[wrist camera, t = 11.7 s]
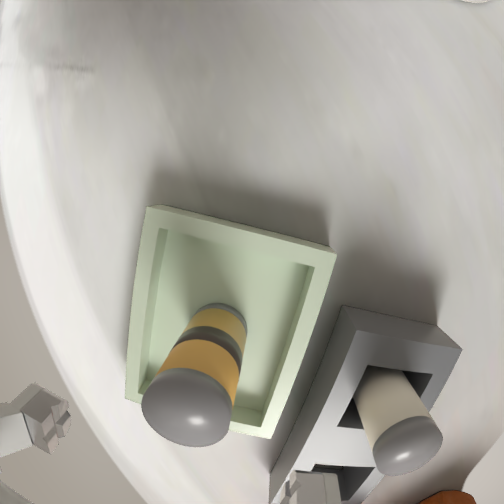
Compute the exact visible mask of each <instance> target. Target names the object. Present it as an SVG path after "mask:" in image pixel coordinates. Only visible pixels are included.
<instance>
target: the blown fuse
mask: <svg viewBox="0 0 504 504" xmlns="http://www.w3.org/2000/svg"><path fill="white" fill-rule="evenodd" d="M247 333H248V329H247V324H246V321H245V319H244V317H243V316H242V315H241V313H240V312H239V311H238V310H236V309H235V308H233V307H232V306H229V305H227V304H223V303H210V304H207V305H204V306H202V307H201V308H199V309H198V310H197V311H196V312H195V314H194V315H193V317H192V319H191V320H190V322H189V323H188V325H187V326H186V328H185V330H184V331H183V333H182V334H181V336H180V337H179V338H178V340H177V342H176V343H175V345H174V346H173V348H172V349H171V351H170V353H169V354H168V356H167V358H166V360H165V361H164V363H163V364H162V366H161V368H160V369H159V371H158V372H157V374H156V376H155V377H154V379H153V380H152V382H151V384H150V385H149V387H148V388H147V390H146V392H145V393H144V395H143V397H142V402H141V407H142V412H143V415H144V417H145V419H146V421H147V422H148V424H149V425H150V426H151V427H152V428H153V429H154V430H155V431H156V432H157V433H158V434H159V435H161V436H162V437H164V438H166V439H167V440H169V441H172V442H174V443H177V444H180V445H183V446H189V447H204V446H209V445H212V444H215V443H217V442H219V441H220V440H221V439H223V438H224V436H225V435H226V434H227V432H228V430H229V425H230V420H231V415H232V410H233V405H234V400H235V395H236V390H237V385H238V382H239V377H240V372H241V366H242V359H243V354H244V349H245V344H246V339H247Z"/></svg>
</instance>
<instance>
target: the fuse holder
mask: <svg viewBox="0 0 504 504" xmlns="http://www.w3.org/2000/svg"><path fill="white" fill-rule="evenodd" d="M461 351H462V348H461V347H460V346H458V345H457V344H456V343H455V342H454V341H453V340H452V339H451V338H450V337H449V336H448V335H447V334H446V333H445V332H443V331H442V330H441V329H440V328H439V327H438V326H436V325H431V324H426V323H422V322H417V321H412V320H408V319H403V318H398V317H394V316H389V315H385V314H380V313H376V312H371V311H367V310H362V309H358V308H354V307H349V306H345V305H342V307H341V310H340V313H339V316H338V319H337V322H336V324H335V327H334V330H333V333H332V335H331V338H330V341H329V343H328V346H327V349H326V351H325V354H324V356H323V359H322V361H321V364H320V367H319V369H318V371H317V374H316V376H315V379H314V381H313V384H312V386H311V388H310V391H309V393H308V395H307V398H306V400H305V402H304V405H303V407H302V409H301V411H300V414H299V416H298V418H297V420H296V423H295V425H294V427H293V429H292V431H291V433H290V435H289V438H288V440H287V442H286V444H285V446H284V448H283V450H282V452H281V454H280V456H279V458H278V460H277V462H276V464H275V466H274V468H273V470H272V472H271V474H270V485H269V504H280V494H281V491H282V488H283V485H284V484H285V482H286V481H289V480H290V474H291V472H292V471H293V470H301V471H312V472H321V473H334V474H336V475H337V478H338V484H339V491H340V497H341V504H361V503H362V502H363V501H364V500H365V499H366V497H367V496H368V495H369V494H370V493H371V492H372V491H373V489H374V488H375V487H376V486H377V485H378V483H379V482H380V481H381V480H382V478H383V477H384V476H385V475H384V474H382V473H380V472H379V471H378V469H377V466H376V463H375V460H374V457H373V454H372V451H371V448H370V445H369V442H368V439H367V436H366V433H365V430H364V427H363V424H362V421H361V418H360V415H359V413H358V410H357V407H356V404H355V401H354V398H353V394H354V392H355V390H356V388H357V386H358V384H359V382H360V380H361V378H362V376H363V374H364V371H365V369H366V367H367V365H371V366H378V367H384V368H391V369H398V370H402V372H403V373H404V375H405V376H406V378H407V379H408V381H409V382H410V384H411V386H412V387H413V389H414V390H415V392H416V393H417V395H418V396H419V398H420V400H421V401H422V403H423V404H424V406H425V407H426V409H427V411H428V412H429V411H430V410H431V408H432V406H433V405H434V403H435V401H436V399H437V398H438V396H439V394H440V392H441V391H442V389H443V387H444V385H445V383H446V381H447V380H448V378H449V376H450V374H451V372H452V370H453V368H454V366H455V364H456V362H457V360H458V358H459V356H460V354H461ZM315 464H324V465H336V466H345V467H344V468H343V470H336V469H323V468H313V467H314V465H315Z"/></svg>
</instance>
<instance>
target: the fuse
mask: <svg viewBox="0 0 504 504" xmlns="http://www.w3.org/2000/svg"><path fill="white" fill-rule="evenodd" d="M353 398H354V401H355V404H356V407H357V410H358V413H359V415H360V418H361V421H362V424H363V427H364V430H365V433H366V436H367V439H368V442H369V445H370V448H371V451H372V454H373V457H374V460H375V463H376V466H377V469H378V471H379V472H380V473H382V474H384V475H388V476H398V475H403V474H407V473H409V472H412V471H414V470H416V469H418V468H420V467H422V466H423V465H425V464H426V463H427V462H428V461H430V460H431V459H432V458H433V457H434V456H435V454H436V453H437V452H438V450H439V449H440V447H441V445H442V441H443V436H442V433H441V432H440V430H439V428H438V427H437V425H436V423H435V422H434V420H433V419H432V417H431V415H430V414H429V412H428V411H427V409H426V407H425V406H424V404H423V403H422V401H421V400H420V398H419V396H418V395H417V393H416V392H415V390H414V389H413V387H412V386H411V384H410V382H409V381H408V379H407V378H406V376H405V375H404V373H403V372H402V370H398V369H391V368H384V367H378V366H371V365H367V367H366V369H365V371H364V374H363V376H362V378H361V380H360V382H359V384H358V386H357V388H356V390H355V392H354V394H353Z"/></svg>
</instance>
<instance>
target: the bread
mask: <svg viewBox="0 0 504 504" xmlns="http://www.w3.org/2000/svg"><path fill="white" fill-rule="evenodd" d="M419 504H476V502H475V500H474V498H473V497H472V496H471V495H470V494H468V493H465V492H461V491H456V490H454V491H441V492H439V493H437V494H435V495H433V496H431V497H429V498H427V499H425V500H423V501H422V502H420V503H419Z"/></svg>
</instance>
